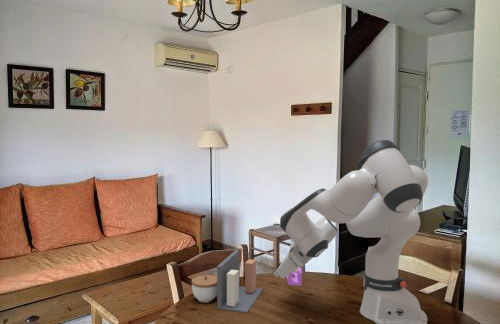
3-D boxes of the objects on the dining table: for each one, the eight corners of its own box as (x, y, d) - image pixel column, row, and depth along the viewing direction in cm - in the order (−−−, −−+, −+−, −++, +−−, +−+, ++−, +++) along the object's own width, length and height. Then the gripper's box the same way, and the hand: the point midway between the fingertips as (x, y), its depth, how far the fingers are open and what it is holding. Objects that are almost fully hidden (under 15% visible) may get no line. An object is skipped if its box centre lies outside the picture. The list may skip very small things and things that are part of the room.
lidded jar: (225, 299, 156) (225, 275, 156) (204, 307, 148) (204, 282, 148) (207, 291, 164) (206, 269, 163) (186, 299, 156) (185, 275, 155)
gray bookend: (262, 290, 165) (262, 252, 164) (247, 312, 144) (247, 269, 143) (236, 287, 168) (236, 249, 167) (217, 308, 147) (217, 266, 146)
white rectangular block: (238, 301, 152) (238, 270, 151) (234, 306, 147) (234, 274, 146) (231, 300, 152) (231, 269, 152) (226, 305, 148) (226, 273, 147)
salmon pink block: (255, 288, 164) (255, 259, 163) (252, 293, 159) (252, 263, 159) (248, 287, 165) (248, 259, 164) (245, 292, 160) (245, 262, 159)
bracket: (301, 285, 171) (301, 269, 170) (288, 285, 171) (288, 269, 170) (297, 275, 184) (297, 260, 183) (285, 275, 184) (285, 260, 183)
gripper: (300, 238, 160) (276, 259, 163) (290, 253, 140) (263, 277, 144) (311, 250, 159) (286, 271, 162) (302, 266, 139) (275, 290, 143)
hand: (275, 274), depth 153 cm, fingers closed
